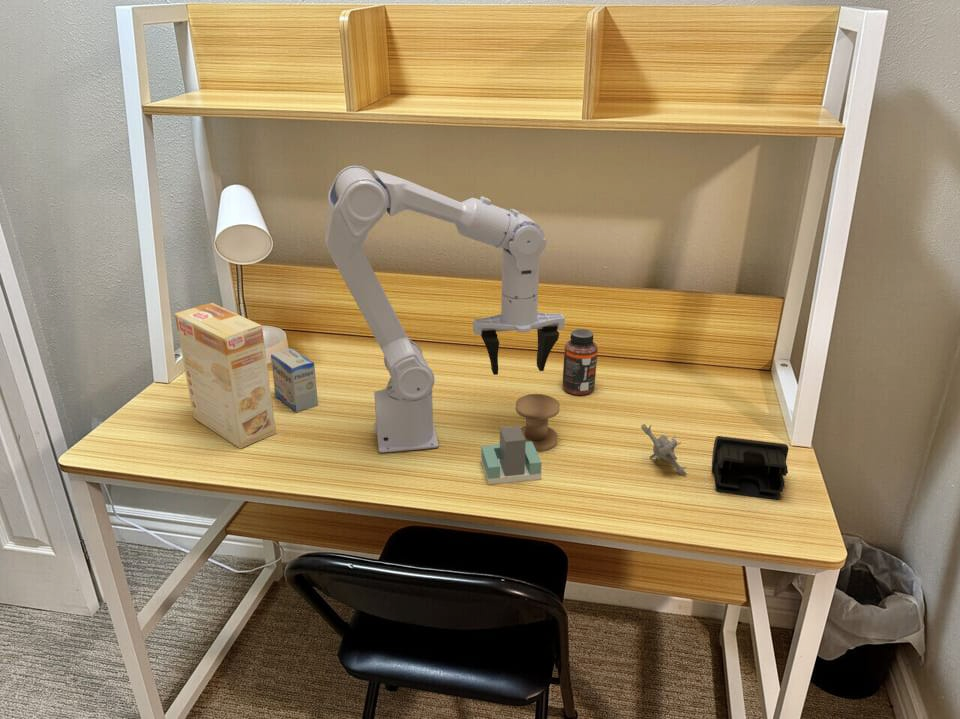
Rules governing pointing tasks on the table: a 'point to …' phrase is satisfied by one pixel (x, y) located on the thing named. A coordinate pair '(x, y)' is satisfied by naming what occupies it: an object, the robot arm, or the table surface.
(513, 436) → the plug
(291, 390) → the medicine box
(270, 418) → the coffeecake box
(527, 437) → the bobbin
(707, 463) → the table surface
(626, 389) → the table surface
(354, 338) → the table surface
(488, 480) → the notch board
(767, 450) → the end cap
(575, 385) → the supplement bottle
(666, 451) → the grey animal figure
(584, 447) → the table surface
